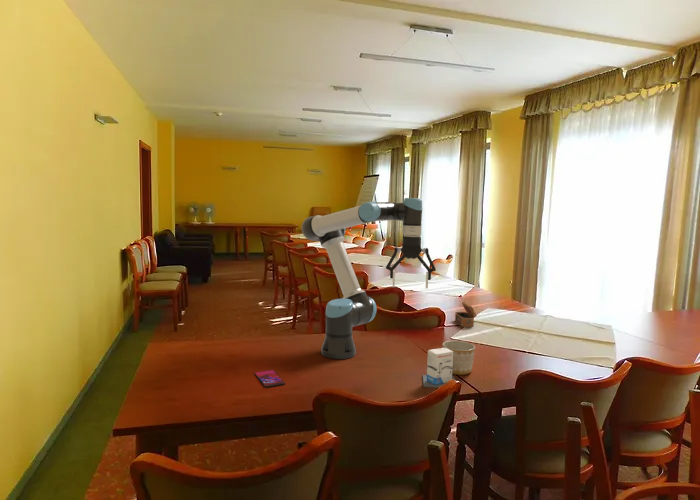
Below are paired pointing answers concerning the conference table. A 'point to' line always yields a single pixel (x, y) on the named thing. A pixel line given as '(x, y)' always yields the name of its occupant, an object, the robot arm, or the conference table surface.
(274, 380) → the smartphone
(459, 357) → the planter
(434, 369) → the ink box
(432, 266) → the robot arm
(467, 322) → the box
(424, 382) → the mat
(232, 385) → the conference table surface
